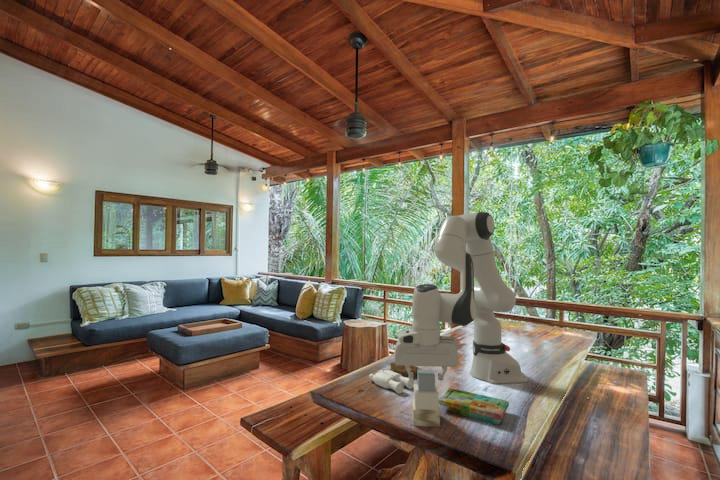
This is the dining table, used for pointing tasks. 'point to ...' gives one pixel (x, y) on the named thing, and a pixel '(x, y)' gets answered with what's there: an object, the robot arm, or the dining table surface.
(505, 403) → the puzzle game
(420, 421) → the birch slab
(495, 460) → the dining table surface
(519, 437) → the dining table surface
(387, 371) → the binoculars
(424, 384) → the grey cube
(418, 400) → the white block
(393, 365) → the decorative rock
